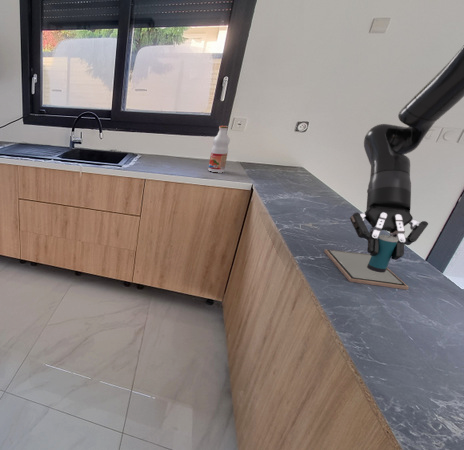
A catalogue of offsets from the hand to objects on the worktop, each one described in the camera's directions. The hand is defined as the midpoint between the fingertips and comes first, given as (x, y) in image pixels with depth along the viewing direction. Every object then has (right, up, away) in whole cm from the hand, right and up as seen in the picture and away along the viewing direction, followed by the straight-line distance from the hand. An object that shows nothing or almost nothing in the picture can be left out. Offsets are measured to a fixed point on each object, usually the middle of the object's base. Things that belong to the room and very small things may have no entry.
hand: (385, 256), depth 73 cm
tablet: (+10, -5, +16) cm, 19 cm away
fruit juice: (+22, +42, +125) cm, 134 cm away
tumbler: (+1, -3, +3) cm, 5 cm away
